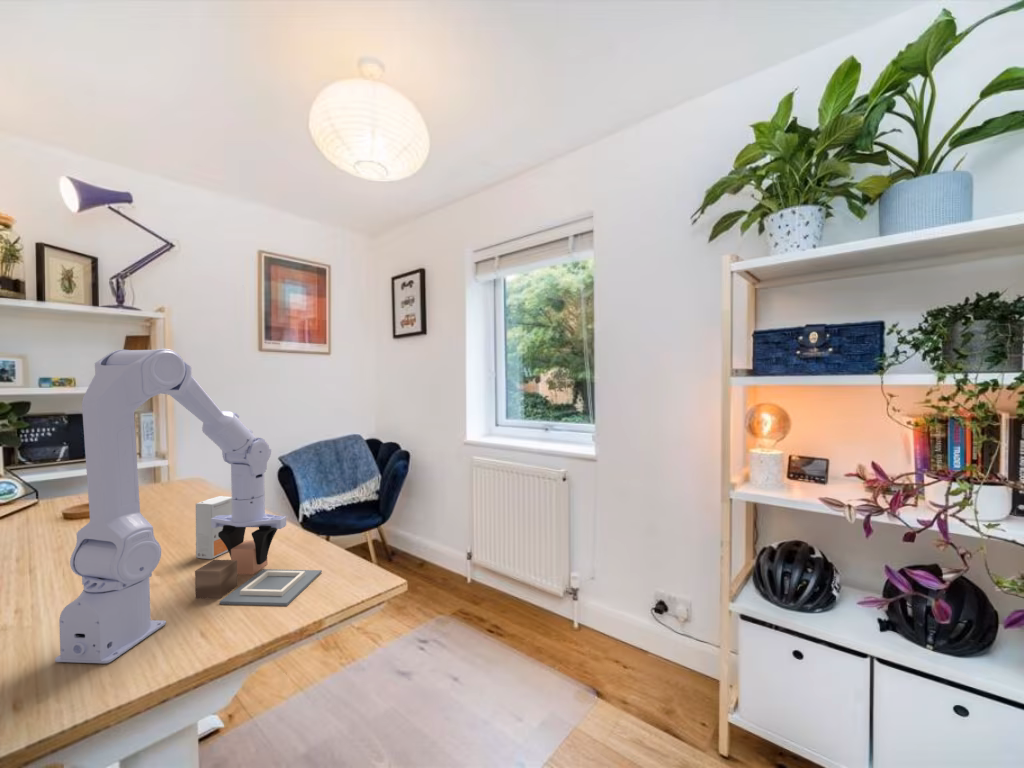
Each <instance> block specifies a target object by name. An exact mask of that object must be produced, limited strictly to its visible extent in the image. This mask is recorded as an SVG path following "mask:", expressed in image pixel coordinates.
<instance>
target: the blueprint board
mask: <svg viewBox="0 0 1024 768" xmlns="http://www.w3.org/2000/svg"><path fill="white" fill-rule="evenodd" d="M321 572H323V571H322V570H319V569H317V570H316V569H310V570H309V569H275V568H273V569H271V568H270V569H268V568H262V569H261V570H259V571H258V572H256V573H255V574H254V575H253V576H252V577H251V578H249V579H248V580H246V581H245V582H244V583H243V584H241V585H240V586H237V587H236V588H235V589H233V590H232V591H231V592H229V593H228V594H227V595H225V596H224V598H223V597H222V598H221V599H220V601H219V605H239V606H241V605H244V606H247V605H248V606H277V607H278V606H281V607H287V606H289V604H291V603H292V602H293V601H294V600H295V599H296V598H297V597H298V596H299V595H300V594H301V593H302V592H303V591H304V590H305V589H307V587H309V585H311V584H312V583H313V582H314V581H315V580H316V579H317V578H318V577H319V576H320V575H321V574H322V573H321ZM320 573H321V574H320ZM319 574H320V575H319ZM318 575H319V576H318ZM317 576H318V577H317ZM316 577H317V578H316ZM315 578H316V579H315ZM314 579H315V580H314ZM313 580H314V581H313ZM312 581H313V582H312ZM311 582H312V583H311ZM310 583H311V584H310Z"/></svg>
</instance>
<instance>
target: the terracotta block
mask: <svg viewBox="0 0 1024 768" xmlns="http://www.w3.org/2000/svg"><path fill="white" fill-rule="evenodd" d="M230 560H237V575H250V576H251V575H253V576H254V575H256V574H257V573H259V572H260V571H261V570H263V569H264V568H265V567H266V566H267V565H268V559H267V560H266V561H265V562H263V563H262V564H260V565H259V564H257V561H256V548H255V543H254V540H253V539H252V540H248V539H246V540H244V541H243V542H242V543H241V544H239V545H237V546H236V547H234V548H232V549H231V557H230ZM265 565H266V566H265Z"/></svg>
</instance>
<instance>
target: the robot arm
mask: <svg viewBox="0 0 1024 768" xmlns="http://www.w3.org/2000/svg"><path fill="white" fill-rule="evenodd" d="M192 373H193V372H192V365H190V364H189V363H187V362H185V361H184V359H183V358H182V356H181V355H180V354H179V353H177V351H175V350H172V349H169V348H158V349H132V350H131V349H124V348H123V349H116V350H114V351H111V352H109V353H107V354H106V355H105V356H103V357H102V358H100V359H98V360H96V362H94V376H93V378H92V380H91V382H90V384H89V385H88V388H87V389H86V390H85V393H84V395H83V397H82V400H81V401H82V402H81V408H82V425H83V426H82V427H83V436H84V437H83V439H84V450H85V465H86V467H85V468H86V480H87V481H86V482H87V495H88V511H89V513H88V514H89V521H88V522H87V524H85V525H84V526H83V527H82V528H80V529H79V530H78V531H77V532H76V544H75V547H74V550H73V551H72V553H71V556H70V561H69V565H70V569H71V571H72V572H73V573H74V574H75V575H77V576H79V577H81V584H82V585H83V590H82V591H81V592H80V594H79V596H77V598H75V599H74V600H73V601H71V602H70V603H68V604H67V605H66V606H65V607H63V610H62V611H61V613H60V615H59V625H58V626H59V651H60V653H59V654H60V655H58V656H56V657H55V658H54V662H55V663H77V664H78V663H79V664H80V663H81V664H82V663H83V664H85V663H86V664H109V663H111V662H112V661H114V660H116V659H117V658H118V657H120V656H122V655H123V654H125V653H126V652H128V651H129V650H130V649H132V648H133V647H134V646H136V645H137V644H139V643H140V642H142V641H144V639H146V638H148V637H149V636H150V635H152V634H154V633H155V632H156V631H158V630H159V629H161V628H162V627H163V626H165V625H166V624H167V621H166V620H163V619H162V620H159V619H158V620H156V619H151V597H150V596H151V591H150V587H151V586H150V585H151V584H150V578H151V577H152V576H153V574H152V573H153V572H154V570H155V569H156V568H157V566H158V565H159V563H160V561H161V558H162V547H161V545H160V543H159V542H158V541H157V539H156V537H155V533H154V526H153V525H152V524H151V523H150V522H149V521H148V520H147V518H146V517H144V516H143V514H142V513H141V505H140V504H141V501H140V491H139V490H140V489H139V472H138V457H137V456H138V455H137V454H138V453H137V438H136V425H135V424H136V423H135V421H136V419H135V412H136V410H138V408H140V407H142V405H143V404H145V403H146V402H147V401H149V399H151V398H154V397H156V396H158V395H160V394H162V395H167V396H170V397H172V399H174V400H175V401H176V402H178V403H179V404H180V405H181V406H182V407H184V409H186V410H188V412H190V413H191V414H192V415H193V416H194V417H196V418H197V419H198V420H200V421H201V422H202V427H201V429H202V430H201V431H202V433H203V434H204V435H206V437H207V438H208V439H210V440H211V441H212V442H213V443H214V444H216V446H218V448H219V449H220V450H221V453H222V454H221V456H222V458H223V461H224V462H226V463H228V464H229V465H230V481H231V483H230V486H231V497H232V515H218V516H216V517H214V518H211V528H217V527H223V529H222V531H220V532H219V533H218V537H219V538H220V539H221V540H222V541H223V542H224V544H225V545H226V547H227V549H228V553H229V556H230V558H231V549H232V548H234V547H236V546H237V545H239V544H241V543H242V542H244V541H245V534H246V528H257V529H256V530H254V531H253V532H251V537H252V540H254V543H255V548H256V561H257V564H259V565H260V564H262V563H263V562H265V561H266V560H267V561H268V554H269V550H270V547H271V544H272V542H273V539H274V537H275V535H276V533H277V531H278V530H281V529H283V528H284V527H287V516H283V515H277V514H276V515H275V514H270V513H266V503H265V502H266V500H265V499H266V497H265V496H266V494H265V493H266V492H265V489H266V488H265V473H266V471H267V470H268V462H269V460H270V457H271V454H272V449H271V448H270V445H269V443H268V442H267V441H266V440H265V439H264V438H262V437H256V436H255V434H254V432H253V430H252V429H249V428H248V427H247V426H246V425H245V424H244V423H243V422H242V421H241V420H240V419H239V418H240V415H239V414H238V413H237V412H232V411H231V410H221V409H220V407H219V406H218V405H217V403H215V401H214V400H213V399H212V398H211V397H210V395H209V394H208V393H207V392H206V391H205V389H204V388H203V387H202V386H201V385H200V383H199V381H197V379H195V377H194V376H193V374H192Z"/></svg>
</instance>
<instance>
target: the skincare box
mask: <svg viewBox="0 0 1024 768" xmlns="http://www.w3.org/2000/svg"><path fill="white" fill-rule="evenodd" d="M218 515H232V496H225V495H218V496H215V497H212V498H208V499H205V500H203V501H200V502H197V503H195V558H196V559H206V560H214V559H215V558H217V557H219V556H221V555H223V554H226V553H229V551H228V549H227V547H226V545H225V544H224V542H223V541H222V540H221V539H220V538H219V537H218V533H219V532H220V531H222V529H223V527H217V528H211V518H214V517H216V516H218Z"/></svg>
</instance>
